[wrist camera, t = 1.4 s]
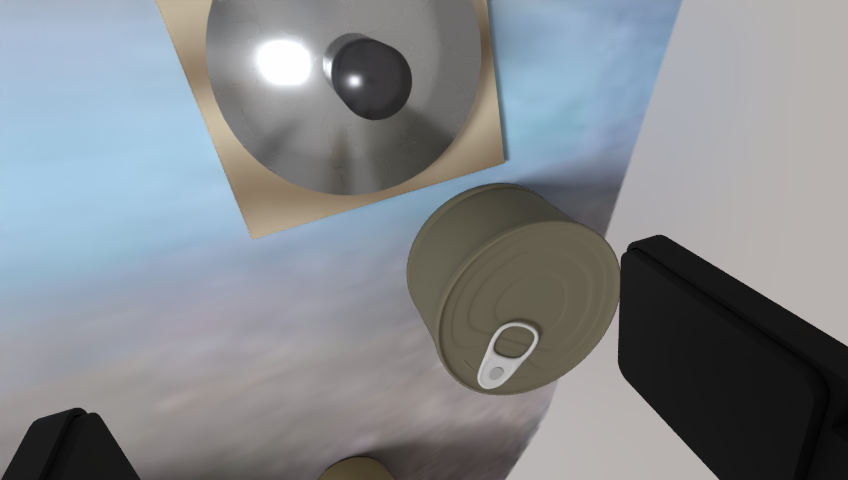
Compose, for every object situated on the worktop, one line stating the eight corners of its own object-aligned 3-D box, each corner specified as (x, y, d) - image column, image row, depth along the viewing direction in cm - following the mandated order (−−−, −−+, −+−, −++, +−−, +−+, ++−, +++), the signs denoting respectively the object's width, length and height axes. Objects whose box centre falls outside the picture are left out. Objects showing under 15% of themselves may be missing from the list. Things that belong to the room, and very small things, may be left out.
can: (591, 216, 37) (657, 259, 31) (507, 347, 40) (553, 410, 34) (457, 151, 32) (506, 188, 26) (373, 309, 35) (399, 375, 29)
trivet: (122, -84, 22) (120, -85, 22) (467, -146, 25) (470, -148, 24) (251, 236, 30) (251, 239, 29) (502, 161, 33) (504, 162, 32)
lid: (155, -62, 22) (129, -76, 17) (453, -119, 25) (508, -145, 20) (263, 219, 29) (267, 269, 24) (488, 152, 32) (535, 185, 27)
